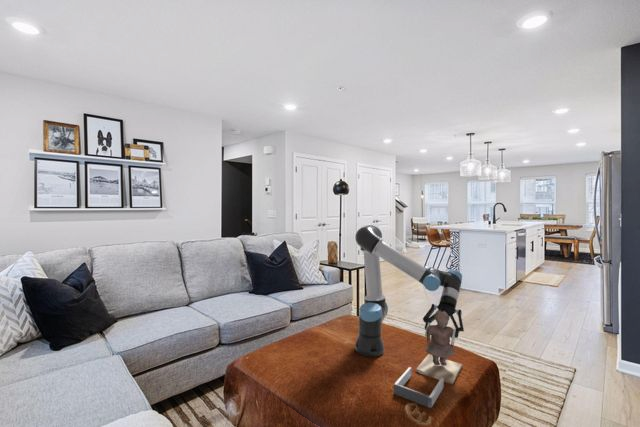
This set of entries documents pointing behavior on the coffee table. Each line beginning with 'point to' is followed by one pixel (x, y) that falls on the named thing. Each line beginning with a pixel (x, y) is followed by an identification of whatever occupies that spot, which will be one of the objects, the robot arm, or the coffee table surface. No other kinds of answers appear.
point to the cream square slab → (439, 369)
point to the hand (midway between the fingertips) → (438, 340)
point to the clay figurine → (440, 339)
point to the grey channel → (416, 395)
